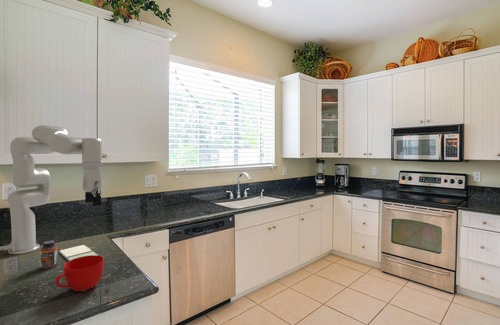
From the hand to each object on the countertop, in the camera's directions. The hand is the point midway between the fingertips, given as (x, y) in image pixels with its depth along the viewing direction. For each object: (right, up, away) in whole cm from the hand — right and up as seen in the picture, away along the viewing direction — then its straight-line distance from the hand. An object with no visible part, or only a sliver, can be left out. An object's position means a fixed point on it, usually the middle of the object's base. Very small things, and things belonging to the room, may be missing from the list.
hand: (93, 203), depth 119 cm
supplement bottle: (-20, -29, 0) cm, 35 cm away
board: (-13, -28, +12) cm, 33 cm away
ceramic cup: (+7, -30, -20) cm, 36 cm away
